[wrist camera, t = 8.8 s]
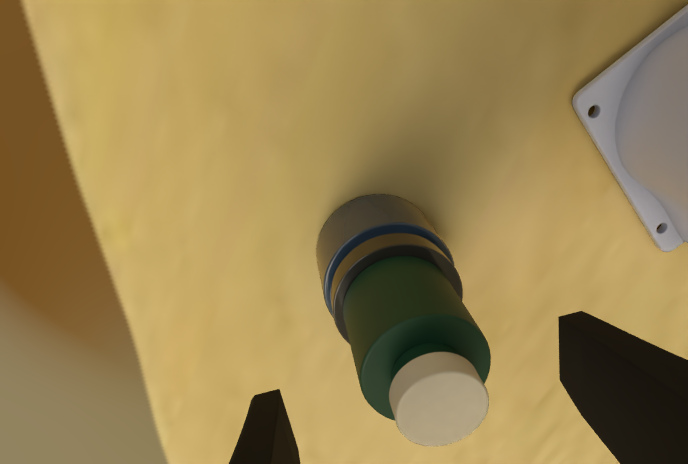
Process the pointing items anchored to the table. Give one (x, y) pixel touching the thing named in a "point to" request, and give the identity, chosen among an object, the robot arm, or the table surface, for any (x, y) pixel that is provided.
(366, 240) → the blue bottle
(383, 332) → the green bottle
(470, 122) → the table surface
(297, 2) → the table surface
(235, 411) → the table surface
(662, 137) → the robot arm
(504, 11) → the table surface
